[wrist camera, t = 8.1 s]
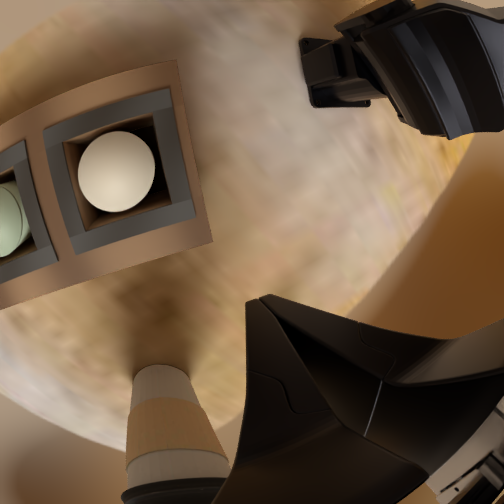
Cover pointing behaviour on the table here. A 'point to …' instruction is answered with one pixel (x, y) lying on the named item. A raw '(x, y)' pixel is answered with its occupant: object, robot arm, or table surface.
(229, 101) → the table surface
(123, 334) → the table surface
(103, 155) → the cream peg
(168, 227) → the walnut block
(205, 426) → the coffee cup
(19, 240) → the sage peg
